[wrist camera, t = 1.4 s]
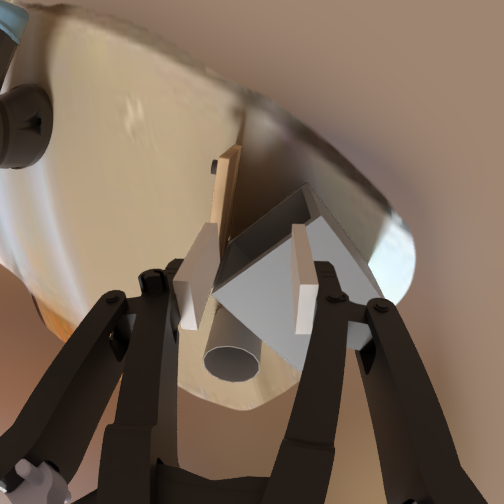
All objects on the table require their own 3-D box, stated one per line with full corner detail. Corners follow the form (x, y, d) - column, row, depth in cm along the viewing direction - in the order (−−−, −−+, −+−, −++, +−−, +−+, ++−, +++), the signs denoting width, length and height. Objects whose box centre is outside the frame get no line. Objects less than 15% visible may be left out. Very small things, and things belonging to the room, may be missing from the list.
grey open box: (228, 242, 42) (211, 294, 31) (306, 182, 37) (321, 215, 26) (295, 311, 47) (299, 371, 36) (367, 264, 42) (394, 318, 31)
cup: (205, 322, 50) (192, 364, 41) (232, 294, 46) (223, 337, 38) (243, 346, 52) (237, 388, 43) (273, 320, 48) (271, 365, 40)
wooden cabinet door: (211, 242, 42) (191, 285, 32) (223, 143, 35) (203, 155, 25) (228, 245, 42) (213, 289, 32) (242, 146, 35) (230, 159, 25)
